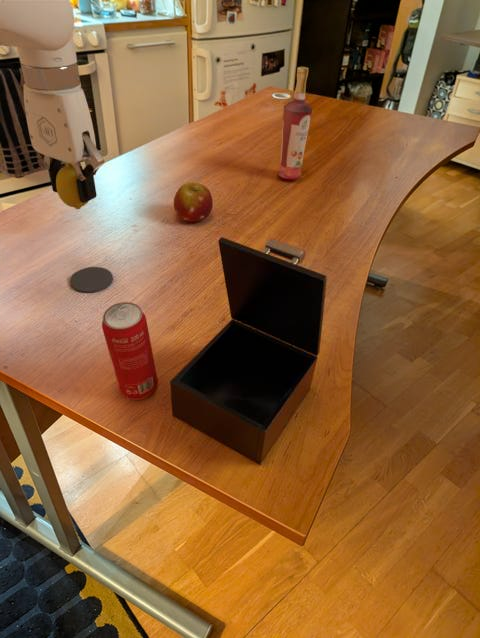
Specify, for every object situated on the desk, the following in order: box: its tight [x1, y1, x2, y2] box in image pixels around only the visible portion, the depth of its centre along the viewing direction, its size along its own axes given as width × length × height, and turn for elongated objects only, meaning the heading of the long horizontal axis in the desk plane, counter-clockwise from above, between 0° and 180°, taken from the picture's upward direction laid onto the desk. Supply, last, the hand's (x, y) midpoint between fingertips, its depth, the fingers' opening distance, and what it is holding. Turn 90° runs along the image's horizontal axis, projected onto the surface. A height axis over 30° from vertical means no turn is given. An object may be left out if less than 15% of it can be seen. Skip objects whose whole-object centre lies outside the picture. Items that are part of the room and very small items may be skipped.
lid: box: [217, 236, 328, 357], centre depth 63 cm, size 16×15×5 cm
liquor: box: [277, 66, 313, 182], centre depth 121 cm, size 7×7×28 cm
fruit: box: [173, 181, 214, 223], centre depth 107 cm, size 10×9×8 cm
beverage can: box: [101, 301, 158, 401], centre depth 65 cm, size 6×6×15 cm
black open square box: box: [169, 318, 318, 466], centre depth 66 cm, size 16×15×7 cm
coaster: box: [69, 266, 114, 294], centre depth 89 cm, size 8×8×1 cm
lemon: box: [56, 163, 89, 210], centre depth 77 cm, size 6×6×8 cm
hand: (74, 193), depth 77 cm, fingers closed on lemon, 5 cm apart
